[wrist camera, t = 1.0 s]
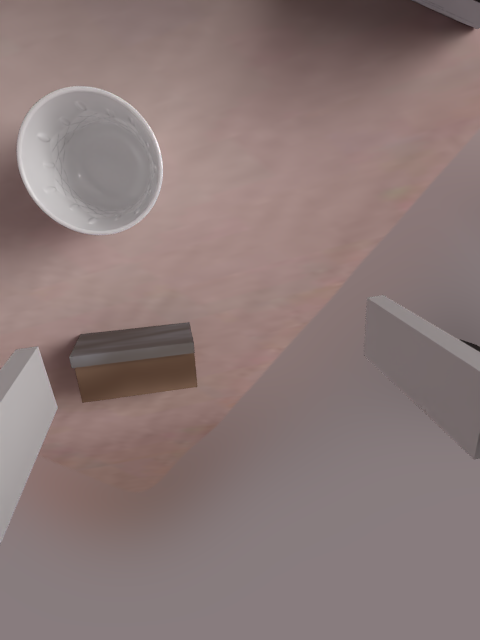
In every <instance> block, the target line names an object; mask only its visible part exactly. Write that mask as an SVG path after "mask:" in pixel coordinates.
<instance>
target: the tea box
mask: <svg viewBox="0 0 480 640" xmlns="http://www.w3.org/2000/svg"><path fill="white" fill-rule="evenodd" d="M412 1H415V2H417V3H419V4H421V5H423V6H426V7H428V8H430V9H432V10H434V11H437V12H439V13H441V14H443V15H445V16H448V17H450V18H452V19H454V20H456V21H459V22H461V23H464V24H466V25H469V26H471V27H474V28H476V29H479V28H480V0H412Z"/></svg>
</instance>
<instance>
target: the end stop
mask: <svg viewBox="0 0 480 640" xmlns="http://www.w3.org/2000/svg"><path fill="white" fill-rule="evenodd" d="M194 353H195V352H194V342H193V337H192V333H191V328H190V323H180V324H171V325H162V326H153V327H144V328H135V329H126V330H117V331H108V332H99V333H89V334H80V336H79V338H78V340H77V342H76V344H75V347H74V349H73V351H72V353H71V355H70V357H69V358H70V363H71V367H72V368H75V372H76V376H77V381H78V385H79V390H80V394H81V398H82V403H84V402H91V401H99V400H106V399H113V398H120V397H127V396H134V395H142V394H149V393H156V392H163V391H170V390H178V389H185V388H192V387H197V378H196V367H195V356H194Z"/></svg>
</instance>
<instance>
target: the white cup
mask: <svg viewBox="0 0 480 640" xmlns="http://www.w3.org/2000/svg"><path fill="white" fill-rule="evenodd" d="M16 154H17V163H18V168H19V172H20V175H21V178H22V181H23V183H24V185H25V187H26V189H27V191H28V193H29V194H30V196H31V197H32V199H33V200H34V202H35V203H36V204H37V205H38V206H39V208H40V209H41V210H42V211H43V212H44V213H46V214H47V215H48V216H49V217H50V218H52V219H53V220H54V221H56V222H57V223H59V224H61V225H63V226H64V227H66V228H69V229H71V230H74V231H77V232H80V233H84V234H90V235H109V234H115V233H119V232H122V231H124V230H127V229H129V228H131V227H132V226H134V225H136V224H137V223H138V222H140V221H141V220H142V219H143V218H144V217H145V216H146V215H147V214H148V213H149V212H150V210H151V209H152V207H153V206H154V204H155V202H156V200H157V198H158V195H159V193H160V189H161V185H162V179H163V163H162V156H161V151H160V148H159V145H158V142H157V140H156V137H155V135H154V133H153V131H152V129H151V128H150V126H149V125H148V123H147V122H146V120H145V119H144V118H143V117H142V116H141V114H140V113H139V112H138V111H137V110H136V109H135V108H134V107H132V106H131V105H130V104H129V103H127V102H126V101H125V100H123V99H122V98H120V97H118V96H116V95H115V94H112V93H110V92H108V91H105V90H102V89H99V88H94V87H88V86H72V87H66V88H62V89H58V90H56V91H53V92H51V93H49V94H47V95H46V96H44V97H43V98H41V99H40V100H39V101H38V102H36V103H35V104H34V105H33V107H32V108H31V109H30V110H29V112H28V113H27V115H26V116H25V118H24V120H23V122H22V124H21V127H20V130H19V133H18V138H17V147H16Z"/></svg>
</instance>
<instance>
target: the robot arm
mask: <svg viewBox="0 0 480 640" xmlns="http://www.w3.org/2000/svg"><path fill="white" fill-rule="evenodd" d="M364 356H365V357H366V358H367V359H368V360H369V361H370V362H371V363H372V364H373V365H374V366H376V368H378V369H379V370H380V371H381V372H382V373H383V374H384V375H385V376H386V377H387V378H388V379H389V380H390V381H391V382H392V383H394V385H396V386H397V387H398V388H399V389H400V390H401V391H402V392H403V393H404V394H405V395H406V396H407V397H408V398H409V399H410V400H411V401H413V402H414V403H415V404H416V405H417V406H418V407H419V408H420V409H421V410H422V411H423V412H424V413H425V414H426V415H427V416H428V417H429V418H430V419H432V420H433V421H434V422H435V423H436V424H437V425H438V426H439V427H440V428H441V429H442V430H443V431H444V432H445V433H446V434H448V435H449V436H450V437H451V438H452V439H453V440H454V441H455V442H456V443H457V444H458V445H459V446H460V447H461V448H462V449H463V450H465V452H466V453H467V454H469V455H470V456H471V457H472V458H473V459H478V458H480V347H479V346H477V345H475V344H472V343H469V342H466V341H463V340H458V339H457V338H455V337H453V336H452V335H450V334H448V333H447V332H445V331H443V330H442V329H440V328H438V327H436V326H435V325H433V324H431V323H430V322H428V321H426V320H425V319H423V318H421V317H420V316H418V315H416V314H414V313H413V312H411V311H409V310H408V309H406V308H404V307H402V306H401V305H399V304H398V303H396V302H394V301H392V300H391V299H389V298H387V297H386V296H384V295H383V296H376V297H369V298H367V306H366V324H365V343H364ZM57 408H58V407H57V404H56V401H55V397H54V394H53V391H52V388H51V385H50V382H49V379H48V376H47V373H46V369H45V366H44V363H43V360H42V357H41V354H40V351H39V348H38V346H36V347H30V348H23V349H16V350H15V352H14V353H13V354H12V355H11V357H10V358H9V359H8V361H7V362H6V363H5V364H4V366H3V367H2V368H1V370H0V544H1V541H2V539H3V537H4V534H5V532H6V529H7V527H8V525H9V522H10V520H11V518H12V515H13V513H14V510H15V508H16V506H17V503H18V501H19V499H20V496H21V494H22V491H23V489H24V487H25V484H26V482H27V479H28V477H29V475H30V472H31V470H32V467H33V465H34V463H35V460H36V458H37V456H38V453H39V451H40V449H41V446H42V444H43V441H44V439H45V437H46V434H47V432H48V430H49V427H50V425H51V422H52V420H53V418H54V415H55V413H56V411H57Z"/></svg>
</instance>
